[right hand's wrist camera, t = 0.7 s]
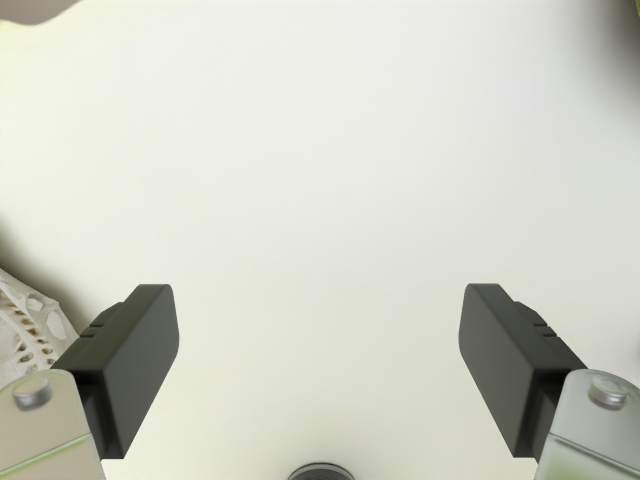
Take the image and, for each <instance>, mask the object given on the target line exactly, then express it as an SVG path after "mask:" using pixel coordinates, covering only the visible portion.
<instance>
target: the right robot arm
mask: <svg viewBox="0 0 640 480" xmlns="http://www.w3.org/2000/svg"><path fill="white" fill-rule="evenodd" d="M178 347H179V330H178V323H177V316H176V310H175V303H174V296H173V291H172V288H171V286H170V285H169V284H140V285H138V286H137V287H136V289H135V290H134V291H133V292H132V293H131V294H130V295H129V297H128V298H127V299H126V300H125V301H124V302H118V303H117V304H115V305H113V306H112V307H110V308H108V309H106V310H105V311H103V312H101V313H100V314H99V315H98V317H97V318H96V319H95V320H94V321H93V322H92V323H91V324H90V327H87V328H86V329H85V331H84V332H83V333H82V334H81V335H80V338H77V339H76V340H75V341H74V342H73V343H72V345H71V346H70V347H69V348H68V349H67V350H66V351H65V352H64V353H63V354H62V355H61V356H60V357H59V359H58V360H57V361H56V362H55V363H54V364H53V365H52V366H51V367H50V368H49V369H47V370H41V371H36V372H33V373H30V374H27V375H25V376H22V377H20V378H18V379H16V380H14V381H12V382H10V383H9V384H7V385H6V386H4V387H3V388H1V389H0V480H106V478H105V474H104V471H103V468H102V465H101V460H102V459H124V457H125V455H126V453H127V451H128V449H129V447H130V445H131V443H132V441H133V439H134V437H135V436H136V434H137V432H138V430H139V428H140V426H141V424H142V422H143V420H144V418H145V416H146V414H147V412H148V410H149V408H150V406H151V404H152V402H153V401H154V399H155V397H156V395H157V393H158V391H159V389H160V387H161V385H162V383H163V381H164V379H165V377H166V375H167V373H168V371H169V369H170V367H171V366H172V364H173V362H174V360H175V358H176V355H177V352H178ZM459 347H460V352H461V355H462V357H463V359H464V361H465V363H466V365H467V367H468V369H469V371H470V373H471V375H472V377H473V379H474V381H475V383H476V385H477V387H478V389H479V391H480V393H481V395H482V397H483V399H484V401H485V403H486V405H487V406H488V408H489V410H490V412H491V414H492V416H493V418H494V420H495V422H496V424H497V426H498V428H499V430H500V432H501V434H502V436H503V438H504V440H505V442H506V444H507V446H508V448H509V450H510V452H511V454H512V456H513V458H535V460H536V461H537V463H538V468H537V471H536V474H535V478H534V480H640V389H639V388H637V387H636V386H634V385H633V384H631V383H630V382H628V381H626V380H624V379H622V378H620V377H618V376H615V375H613V374H610V373H607V372H604V371H599V370H593V369H588V368H587V367H586V365H585V364H584V363H583V362H582V361H581V360H580V359H579V358H578V357H577V356H576V355H575V354H574V352H573V351H572V350H571V349H570V348H569V347H568V346H567V345H566V344H565V343H564V342H563V340H562V339H561V338H560V337H557V334H556V333H555V332H554V331H553V330H552V329H551V327H548V326H547V323H546V322H545V321H544V320H543V319H542V318H541V317H540V315H539V314H538V313H537V312H536V311H534V310H532V309H530V308H529V307H527V306H525V305H524V304H522V303H520V302H514V301H513V300H512V299H511V298H510V297H509V295H508V294H507V293H506V292H505V291H504V290H503V288H502V287H501V286H500V285H499V284H468V285H467V287H466V289H465V294H464V301H463V308H462V315H461V321H460V328H459ZM288 480H354V479H353V477H352V476H351V475H350V474H349V473H348V472H347V471H345V470H343V469H342V468H339V467H337V466H334V465H329V464H313V465H308V466H305V467H303V468H300V469H299V470H297V471H296V472H294V473H293V474H292V475H291V476H290V478H289V479H288Z"/></svg>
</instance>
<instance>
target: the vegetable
mask: <svg viewBox="0 0 640 480" xmlns="http://www.w3.org/2000/svg"><path fill="white" fill-rule="evenodd" d="M635 1H636V6H637V11H638V15H639V18H640V0H635Z"/></svg>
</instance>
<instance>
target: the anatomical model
mask: <svg viewBox="0 0 640 480" xmlns="http://www.w3.org/2000/svg"><path fill="white" fill-rule="evenodd" d="M77 338H80V337H79V336H78V334H77V333H76V331H75V330H74V328H73V326H72V325H71V323H70V322H69V320H68V319H67V317H66V316H65V314H64V313H63V311H62V310H61V308H60V306H59V302H57V301H56V300H54V299H51V298H48V297H47V296H45V295H43V294H41V293H40V292H38V291H36V290H34V289H33V288H31V287H29V286H27V285H25V284H24V283H22V282H20V281H19V280H17V279H15V278H14V277H12V276H11V275H10V274H8V273H7V272H5V271H4V270H2V269H1V268H0V389H1V388H3V387H4V386H6V385H7V384H9V383H10V382H12V381H14V380H16V379H18V378H20V377H22V376H25V375H27V374H30V373H33V372H36V371H41V370H47V369H49V368H50V367H51V366H52V365H53V360H55V361H57V360H58V359H59V357H60V356H61V355H62V354H63V353H64V352H65V351H66V350H67V349H68V348H69V347H70V346H71V345H72V343H73V342H74V341H75V340H76V339H77ZM24 347H25V348H24ZM51 349H52V350H53V351H52V350H51ZM28 355H29V359H26V358H24V357H25V356H28ZM35 364H36V366H37V369H35V370H33V371H32V370H31V368H32V367H33V366H34V365H35Z"/></svg>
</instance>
